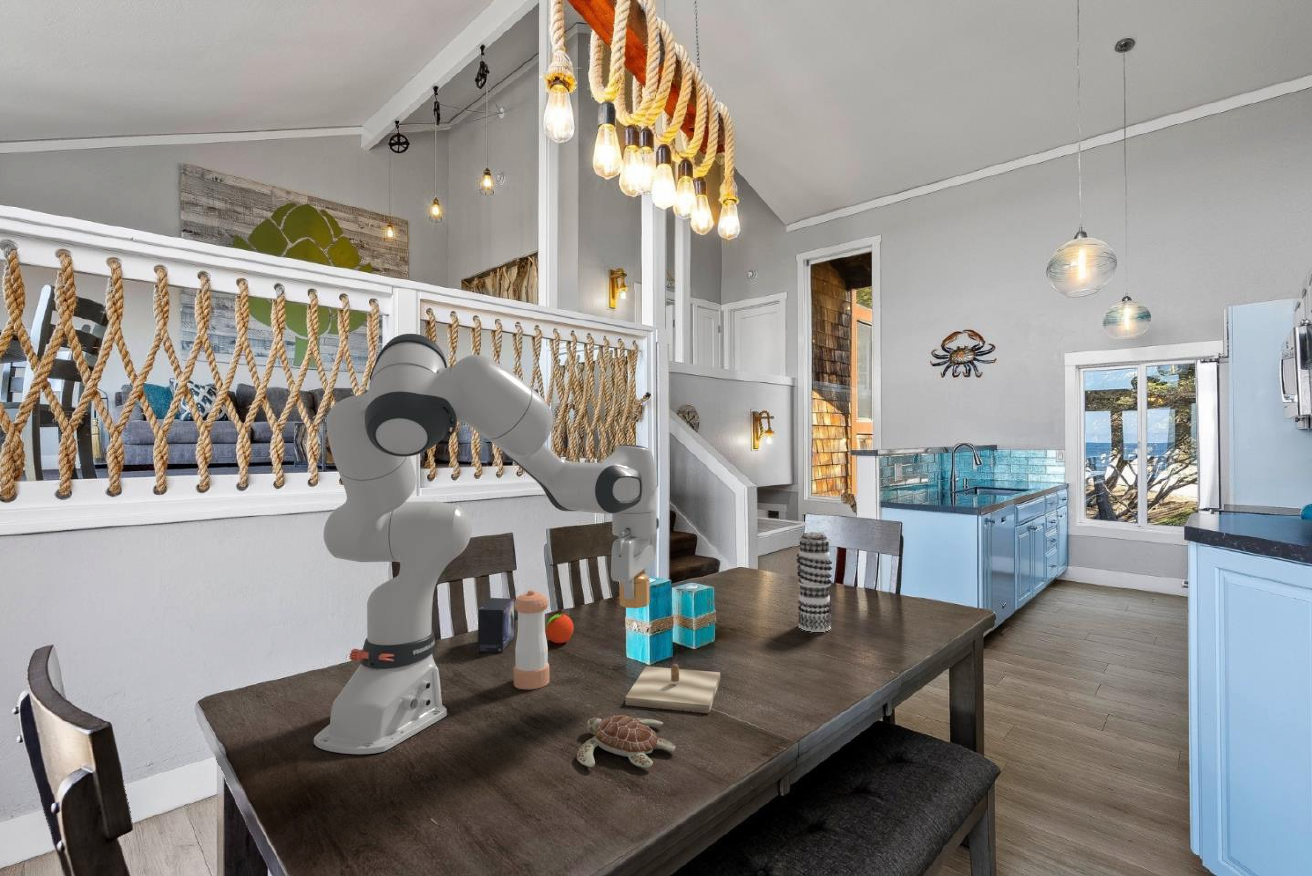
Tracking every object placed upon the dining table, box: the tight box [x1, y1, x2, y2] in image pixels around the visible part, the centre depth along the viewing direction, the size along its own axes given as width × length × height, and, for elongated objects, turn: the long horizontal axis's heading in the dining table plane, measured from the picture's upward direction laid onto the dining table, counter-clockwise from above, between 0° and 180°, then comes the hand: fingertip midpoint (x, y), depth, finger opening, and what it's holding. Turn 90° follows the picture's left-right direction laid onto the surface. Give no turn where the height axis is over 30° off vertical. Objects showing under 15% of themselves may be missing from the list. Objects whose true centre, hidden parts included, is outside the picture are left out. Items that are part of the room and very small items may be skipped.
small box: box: [477, 597, 515, 654], centre depth 149 cm, size 11×6×10 cm, turn 179°
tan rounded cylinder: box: [618, 573, 651, 609], centre depth 123 cm, size 6×6×6 cm
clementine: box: [545, 613, 575, 644], centre depth 151 cm, size 8×7×7 cm
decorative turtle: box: [576, 714, 676, 769], centre depth 100 cm, size 18×17×5 cm
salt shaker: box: [513, 589, 550, 690], centre depth 127 cm, size 7×7×19 cm
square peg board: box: [624, 663, 721, 714], centre depth 122 cm, size 16×16×6 cm
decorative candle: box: [796, 531, 833, 633], centre depth 162 cm, size 9×9×25 cm
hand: (634, 593), depth 123 cm, fingers closed on tan rounded cylinder, 6 cm apart
